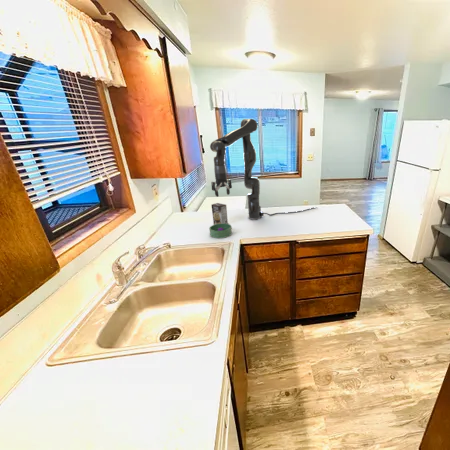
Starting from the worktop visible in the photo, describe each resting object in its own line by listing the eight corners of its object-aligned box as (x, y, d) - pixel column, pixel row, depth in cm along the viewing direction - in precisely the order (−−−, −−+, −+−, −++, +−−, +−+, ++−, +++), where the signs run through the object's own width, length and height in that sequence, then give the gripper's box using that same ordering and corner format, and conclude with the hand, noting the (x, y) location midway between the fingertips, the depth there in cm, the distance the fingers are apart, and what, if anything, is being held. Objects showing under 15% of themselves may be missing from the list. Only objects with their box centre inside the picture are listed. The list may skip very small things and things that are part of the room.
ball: (222, 232, 166) (221, 226, 165) (225, 233, 163) (225, 227, 162) (216, 233, 163) (216, 227, 162) (220, 235, 160) (219, 229, 159)
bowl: (224, 229, 173) (224, 222, 171) (236, 234, 164) (235, 226, 162) (206, 234, 163) (205, 227, 161) (217, 240, 154) (216, 232, 152)
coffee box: (213, 225, 180) (210, 204, 174) (219, 222, 186) (217, 202, 180) (222, 227, 176) (220, 206, 171) (228, 224, 182) (226, 204, 176)
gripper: (213, 173, 155) (216, 198, 161) (232, 171, 165) (234, 194, 171) (207, 172, 160) (210, 196, 165) (226, 170, 170) (228, 193, 175)
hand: (222, 195), depth 168 cm, fingers open, 8 cm apart
